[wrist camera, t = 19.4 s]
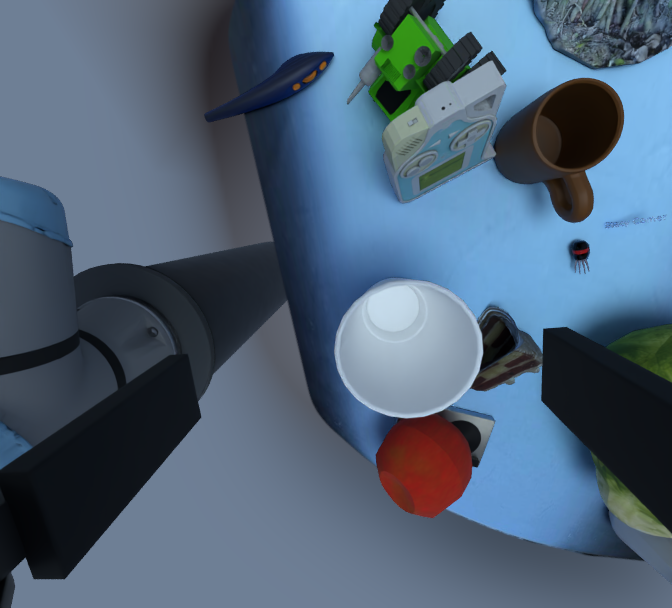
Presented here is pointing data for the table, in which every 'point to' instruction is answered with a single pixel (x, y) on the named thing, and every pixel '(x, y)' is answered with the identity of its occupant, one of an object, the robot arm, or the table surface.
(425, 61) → the toy tractor
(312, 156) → the table surface
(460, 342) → the cup
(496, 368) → the chocolate cake
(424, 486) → the apple
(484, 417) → the hob plate
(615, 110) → the mug
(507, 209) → the table surface
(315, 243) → the table surface
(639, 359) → the lettuce
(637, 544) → the salt shaker
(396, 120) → the handheld gaming console
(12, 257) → the robot arm
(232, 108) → the tapered navy handle
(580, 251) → the toy creature
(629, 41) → the tree stump
